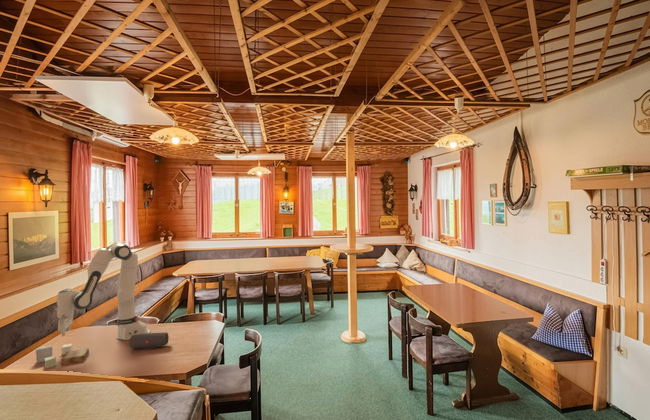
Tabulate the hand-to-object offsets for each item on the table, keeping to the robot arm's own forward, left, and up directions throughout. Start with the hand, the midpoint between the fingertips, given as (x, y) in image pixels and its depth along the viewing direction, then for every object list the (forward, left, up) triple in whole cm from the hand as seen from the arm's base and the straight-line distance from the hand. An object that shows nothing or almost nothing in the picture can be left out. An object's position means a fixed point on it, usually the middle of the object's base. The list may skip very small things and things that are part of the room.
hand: (65, 333), depth 225 cm
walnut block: (-8, +15, -14) cm, 22 cm away
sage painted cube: (+4, +19, -14) cm, 23 cm away
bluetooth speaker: (-51, +19, -14) cm, 56 cm away
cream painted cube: (0, 0, -14) cm, 14 cm away
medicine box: (+10, +8, -14) cm, 18 cm away
